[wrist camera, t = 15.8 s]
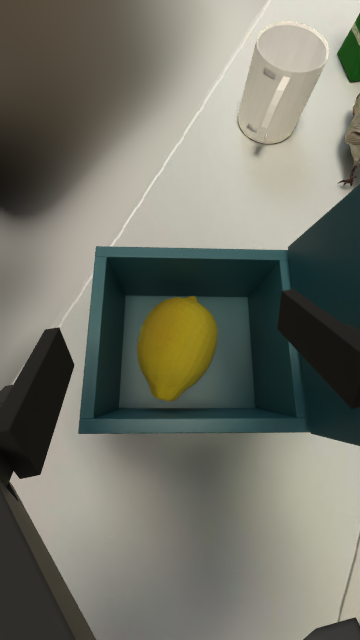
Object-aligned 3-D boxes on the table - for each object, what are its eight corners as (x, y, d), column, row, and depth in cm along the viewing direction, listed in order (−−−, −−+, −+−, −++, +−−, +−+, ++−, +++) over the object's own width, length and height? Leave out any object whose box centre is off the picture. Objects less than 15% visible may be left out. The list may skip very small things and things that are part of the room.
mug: (251, 93, 42) (274, 12, 33) (302, 115, 41) (339, 38, 32) (218, 142, 39) (233, 68, 30) (272, 167, 38) (304, 99, 29)
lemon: (166, 296, 31) (164, 266, 23) (224, 323, 30) (242, 302, 23) (122, 377, 28) (104, 374, 21) (185, 409, 28) (191, 418, 20)
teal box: (111, 417, 28) (77, 433, 18) (119, 290, 32) (95, 246, 22) (261, 416, 29) (311, 432, 19) (252, 292, 33) (289, 250, 22)
